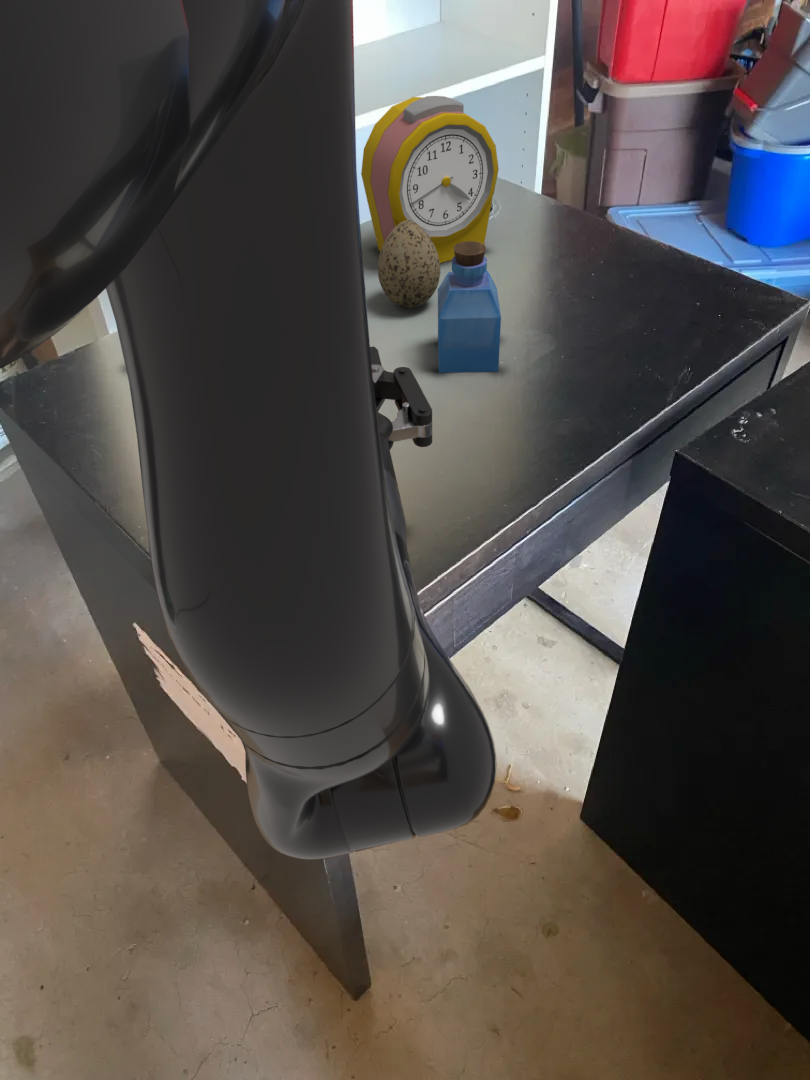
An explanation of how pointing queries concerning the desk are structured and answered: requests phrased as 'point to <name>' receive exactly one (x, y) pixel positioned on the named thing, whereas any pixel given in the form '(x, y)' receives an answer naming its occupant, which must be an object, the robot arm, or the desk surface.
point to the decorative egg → (408, 265)
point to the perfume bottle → (468, 314)
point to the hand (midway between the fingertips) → (314, 357)
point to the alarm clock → (430, 172)
